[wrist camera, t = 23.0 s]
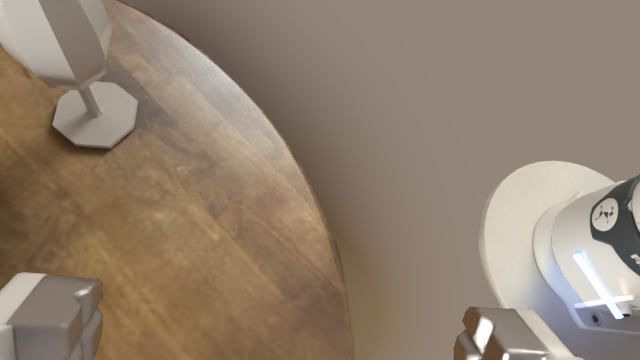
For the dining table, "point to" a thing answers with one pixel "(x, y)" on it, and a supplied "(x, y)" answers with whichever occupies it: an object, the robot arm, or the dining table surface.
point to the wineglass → (70, 65)
